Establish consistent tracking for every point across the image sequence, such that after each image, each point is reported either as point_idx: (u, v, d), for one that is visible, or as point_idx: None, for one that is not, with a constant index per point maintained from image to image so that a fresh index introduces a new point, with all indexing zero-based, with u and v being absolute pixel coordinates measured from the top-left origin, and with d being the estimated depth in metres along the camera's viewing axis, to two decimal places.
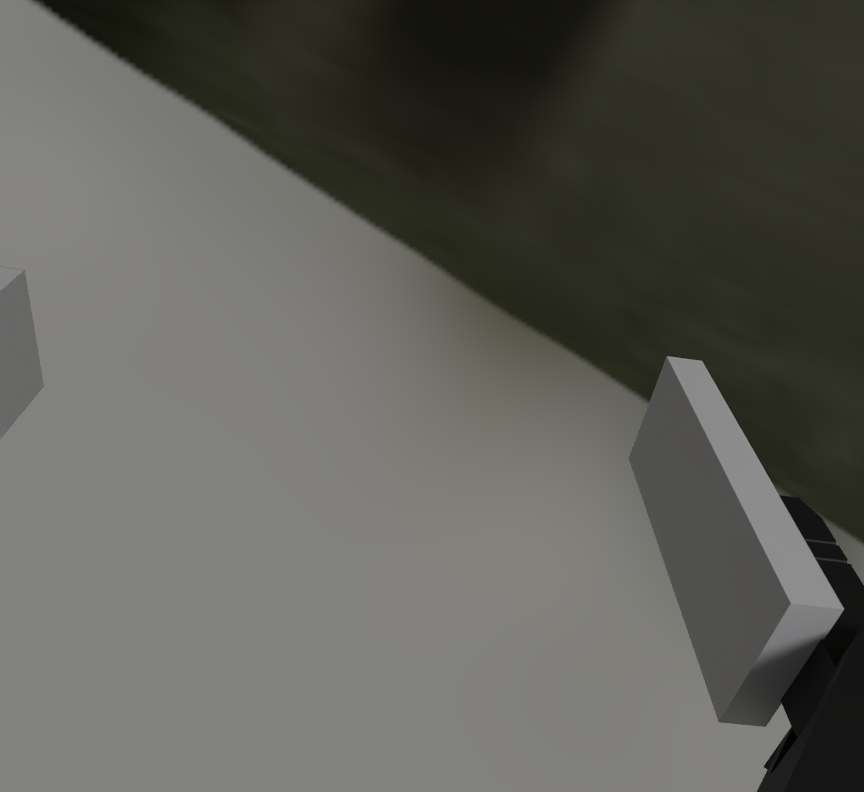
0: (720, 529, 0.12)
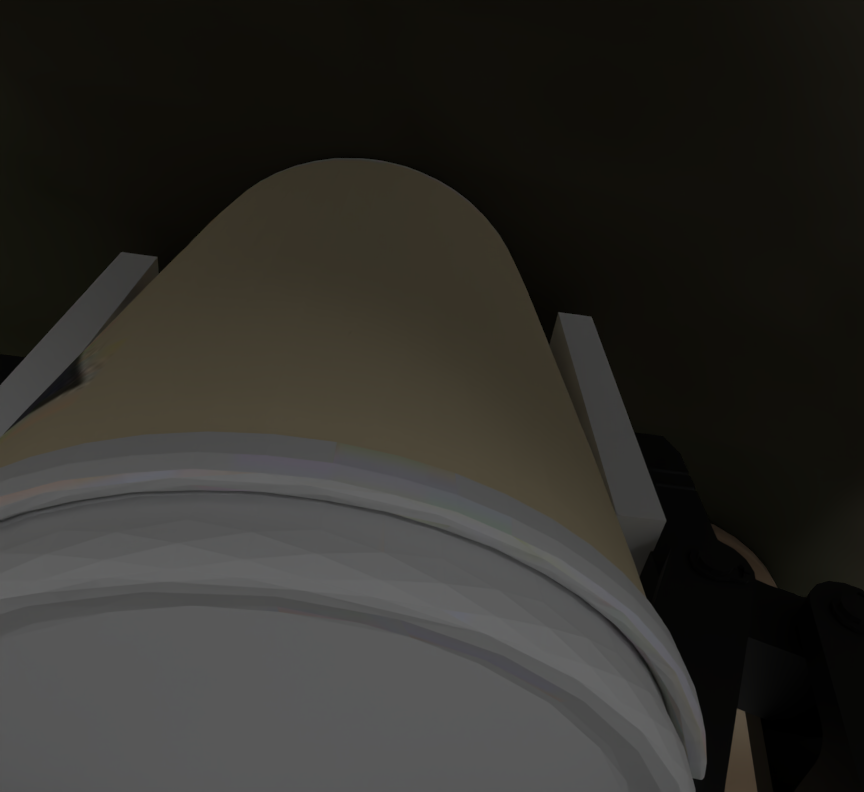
0: None
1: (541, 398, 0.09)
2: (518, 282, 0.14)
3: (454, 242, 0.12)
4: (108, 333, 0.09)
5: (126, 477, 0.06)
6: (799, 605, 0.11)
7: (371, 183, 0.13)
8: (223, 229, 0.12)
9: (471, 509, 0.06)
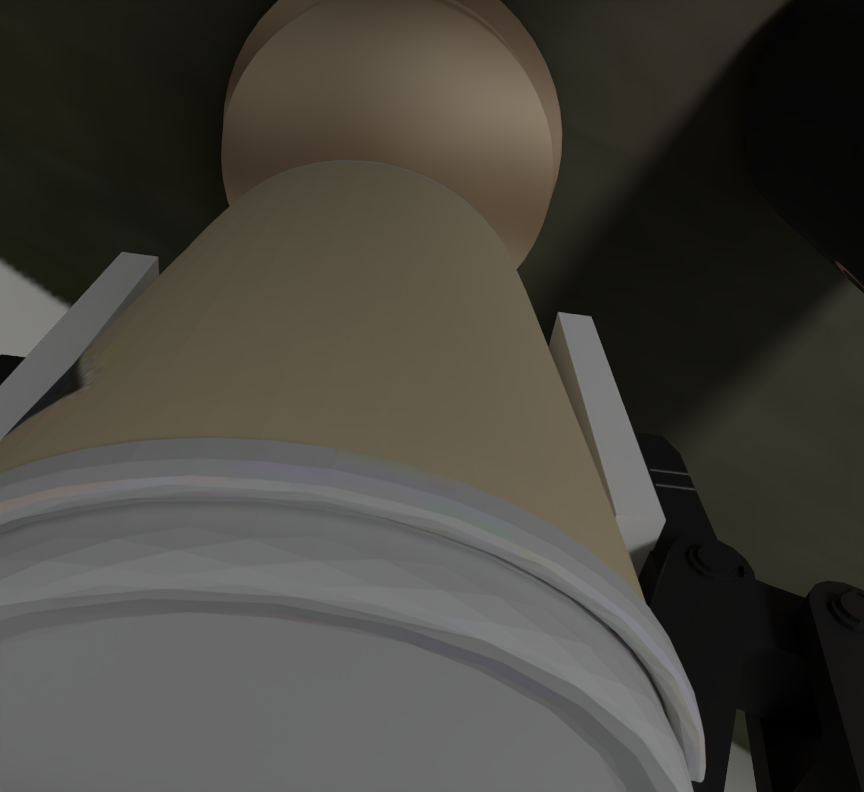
0: None
1: (540, 402, 0.09)
2: (517, 285, 0.14)
3: (453, 245, 0.12)
4: (107, 337, 0.09)
5: (125, 484, 0.06)
6: (798, 605, 0.11)
7: (370, 186, 0.13)
8: (222, 232, 0.12)
9: (470, 515, 0.06)
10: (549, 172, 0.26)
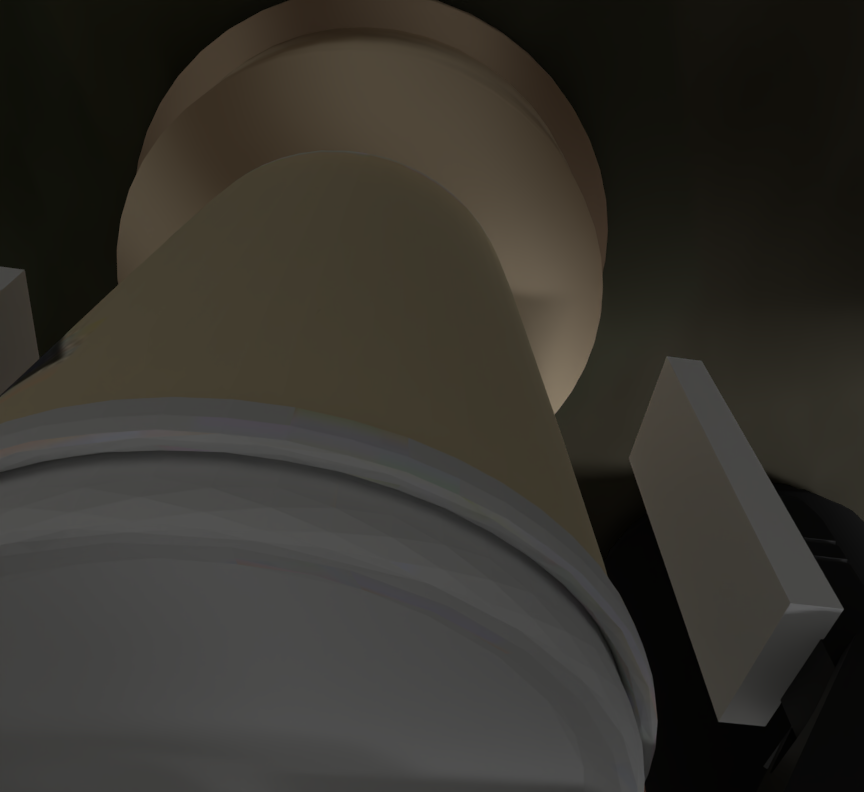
0: (719, 529, 0.12)
1: (506, 376, 0.09)
2: (496, 271, 0.14)
3: (431, 230, 0.13)
4: (90, 314, 0.10)
5: (94, 437, 0.06)
6: None
7: (352, 174, 0.14)
8: (206, 217, 0.12)
9: (421, 470, 0.06)
10: None
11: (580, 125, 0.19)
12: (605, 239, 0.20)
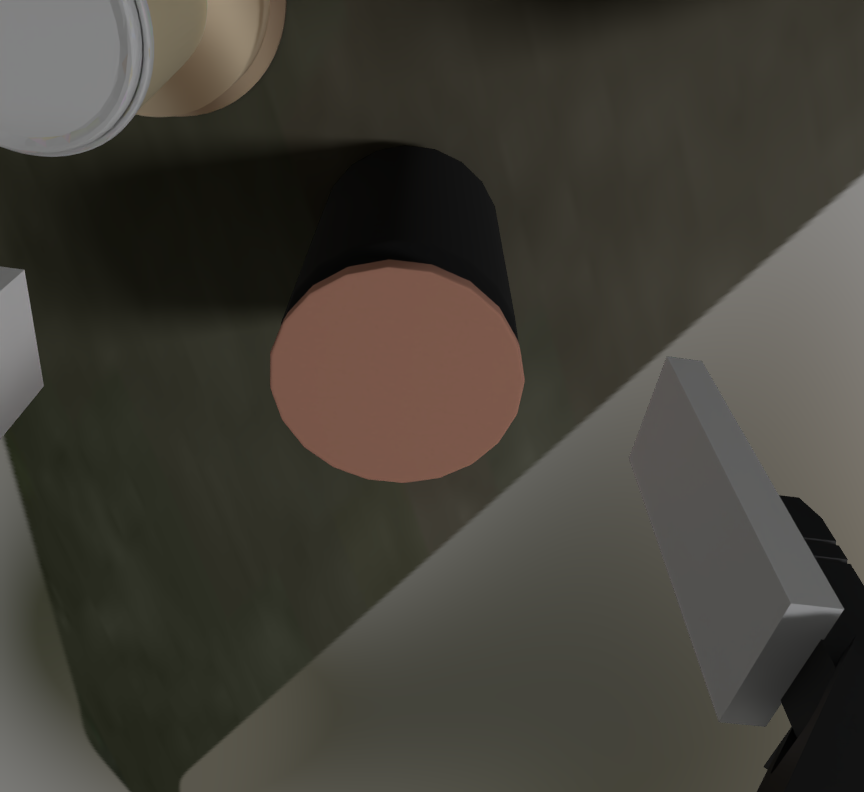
0: (720, 529, 0.12)
1: None
2: None
3: None
4: None
5: None
6: None
7: None
8: None
9: None
10: (224, 87, 0.38)
11: None
12: None
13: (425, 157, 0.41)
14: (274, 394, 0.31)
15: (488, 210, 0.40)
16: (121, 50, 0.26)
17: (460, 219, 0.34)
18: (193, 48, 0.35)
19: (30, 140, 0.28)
